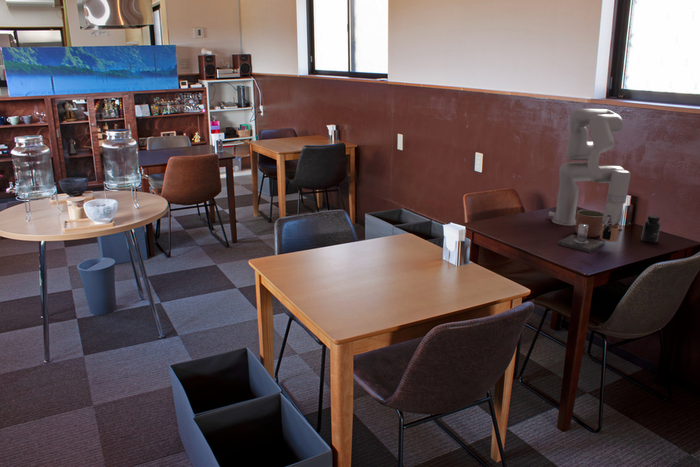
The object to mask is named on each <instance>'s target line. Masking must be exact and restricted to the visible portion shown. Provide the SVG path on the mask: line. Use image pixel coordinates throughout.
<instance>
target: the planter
mask: <svg viewBox="0 0 700 467" xmlns="http://www.w3.org/2000/svg"><path fill="white" fill-rule="evenodd" d="M603 215H604V212H601V211H598V210H593V209H580V210H576V216H575V220H576V225H575V233H576V234H578V228H579V224H587V225H588V232H587V238H596V237H598V236H599V237H600V236H601V230H602V225H603V223H602V219H603Z"/></svg>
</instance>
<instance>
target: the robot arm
mask: <svg viewBox="0 0 700 467" xmlns="http://www.w3.org/2000/svg"><path fill="white" fill-rule="evenodd" d="M588 128H589V130H588ZM623 128H624V120H623V118H622V117H621V115H619V114H618V113H616V112H614V111H612V110H610V109H606V108H578V109H575V110H573V111H572V113H571V114H570V116H569V137H568V142H567V147H566V151H565V152H566V153H565V154H566V158H567V159H568V160H571V161H570V162H565V163H562V164H561V165H560V167H559V187H558V193H557V194H558V195H557V202H556V203H557V204H556V211H555V212H553V211H549V212H548V216H549V217H552V219H551V222H552V223H554V224H556V225H560V226H566V227H567V226H569V227H570V226H576V216H577V209H578V208H577V207H578V200H579V194H580V192H579V191H580V189H579V187H578V185H577V183H576V182H590V181H592V183H593V182H594V183H597V184H607V183H608V189H607V195H606V204H605V207H604V211H603V213H604V215H603V219H602V223H603V224H604V229H603V235H602V238H603V239H606V240H610V236H611V228H612V225H618V226H620V225H619V223H620V222H621V221H622V216H623V210H624V204H626V201H627V198H628V196H627V195H628V191H629V185H630V180H631V171H629V170H626V169H625V168H624V167H623V166H621V165H599V162H600V158H601V154H603V153H606V152H608V151H610V150H611V149H613V148H614V147H615V140H614V135H613V134H619V133H620V132H621V131H622V130H623ZM589 131H590V136H591V140H588V138H589ZM574 161H575V162H574ZM583 161H585V162H583ZM608 225H609V226H610V228H609V226H608Z"/></svg>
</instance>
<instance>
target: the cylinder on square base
mask: <svg viewBox="0 0 700 467" xmlns="http://www.w3.org/2000/svg"><path fill="white" fill-rule="evenodd" d="M587 232H588V225H587V224H579V228H578V233H577V235H575V234H570V235H568V236H567V237H565V238H562V239H560V240H558V241H557V246H562V247H565V248H570V249H575V250H578V251H582V252H586V253H592V252H594V251H596V250H598V249H599V248H601V247H603V246H604V245H605V241H603V240H597V239H593V238H590V237H587Z"/></svg>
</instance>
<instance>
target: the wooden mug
mask: <svg viewBox="0 0 700 467" xmlns="http://www.w3.org/2000/svg"><path fill="white" fill-rule="evenodd" d="M608 226H609V225H608ZM609 228H610V226H609ZM603 229H604V224H603V225H602V230H601V234H600V235H599V238H600V240H601V241H603V242H605V241H606V242H608V243H614V242H618V241H619V236H620V232H623V228H621V227H620V225H619V226H618V225H612V228H611V236H610V240H606V239H603V238H602V235H603Z"/></svg>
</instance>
